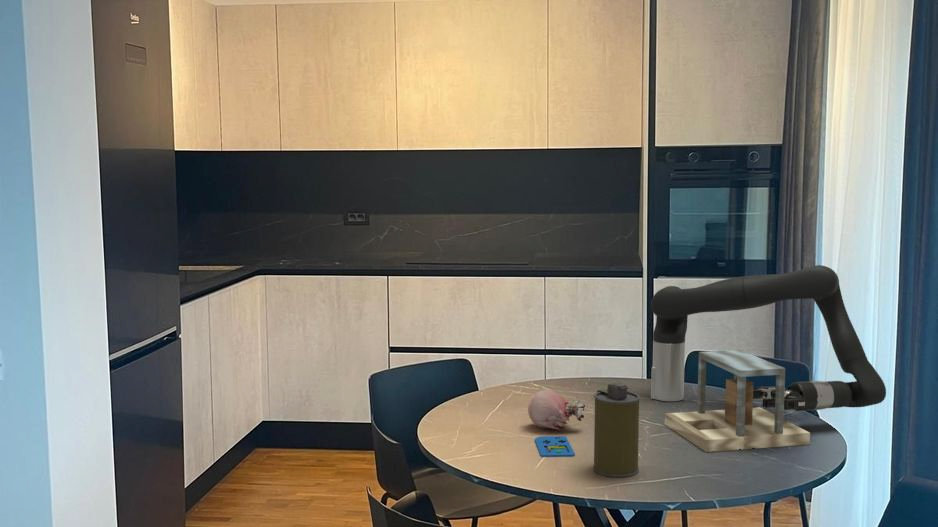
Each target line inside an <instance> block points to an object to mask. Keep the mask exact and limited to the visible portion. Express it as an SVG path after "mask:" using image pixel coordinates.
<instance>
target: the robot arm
mask: <svg viewBox="0 0 938 527" xmlns="http://www.w3.org/2000/svg"><path fill="white" fill-rule="evenodd" d="M808 299H809V300H811V299H812V300H813V301H814V303H815V304H816V305H817V307H818V309H819V311H820V313H821V315H822V317H823V320H824V322H825V325H826V329H827V332H828V337H829V340H830V343H831V345H832V348H833V351H834V353H835V356H836V358H837V361H838V363H839V365H840V368H841V369H842V371H843V372H844V373H845V374H849V375H852V376H853V378H854V379H855V381H849V382H848V381H846V382H845V381H842V380H830V381H829V380H828V381H823V380H822V381H821V380H810V381H809V380H807V381H793V382H792V383H791V384H789V387H788V388H785V393H784V411H788V410H794V411H796V412H803V411H820V410H825V409H838V408H844V407H845V408H865V407H869V406H873V405H874V406H875V405H878V404H881V403H883V402H884V400H885V399H886V397H887V389H886V385H885V382H884V380H883V379H882V376H880V375H879V373H878V371H877V370H876V368H874V366H873V365H872V364H871V362H870V361H869V359H868V357H867V355H866V352H865V350H864V348H863V345H862V343H861V340H860V339H859V336H858V334H857V332H856V330H855V328H854V326H853V324H852V321H851V319H850V315H849V314H848V311H847V308H846V306H845V303H844V299H843V295H842V291H841V285H840V279H839V275H838V274H837V273H836V271H835V270H834V269H832V268H830V267H828V266H825V265H817V264H816V265H813V266H809V267H805V268H802V269H798V270H793V271H789V272H784V273H776V274H775V273H773V274H756V275H755V274H753V275H746V276H744V275H743V276H738V277H731V278H725V279H722V280H719V281H715V282H711V283H708V284H705V285H701V286H697V287H690V288H689V287H688V288H681V287H679V286H675V285H668V286H666V287H663V288H661V289H659V290H658V291H656V292H655V293H654V295H653V297H652V299H651V301H650V309H651V312H653V314H654V315H655V316H656V320H655V321H656V322H655V326H654V330H653V333H652V335H653V336H652V366H651V375H650V376H651V377H650V378H651V379H650V382H651V385H650V386H651V387H650V399H652V400H657V401H662V402H679V401H682V400H684V398H685V397H684V393H685V359H686V358H685V357H686V356H685V355H686V353H685V352H686V334H687V329H688V319H689V318H688V317H689V316H691V315H695V314H701V313H719V312H731V311H742V310H743V311H744V310H747V309H748V310H751V309H755V308H760V307H764V306H768V305H772V304H774V303H778V302H782V301H787V300H788V301H789V300H808ZM775 398H776V385H772V386H771V385H770V386H757V387H756V389H753V400H756V399H757V400H758V399H760V400H762V403H761V404H762V407H763V408H765V409H768V408H775Z"/></svg>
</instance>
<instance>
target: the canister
mask: <svg viewBox="0 0 938 527" xmlns="http://www.w3.org/2000/svg"><path fill="white" fill-rule="evenodd" d="M628 389H629V386H628V385H625V384H623V383H621V382H614V383H609V384H607V389H605V388H604V389H603V388H602V389H598V390H597V391H596V393H594V394H593V398H594V430H593V431H594V432H593V433H594V434H593V436H594V439H593V445H594V446H593V451H594V452H593V466H592V470H593V471H594V473H597V474H599V475H600V476H605V477H609V478H627V477H632V476H635V475H637V474H638V473H639V471H640V467H639V436H640V435H639V432H640V431H639V429H640V428H639V426H640V425H639V423H640V400H641V395H639V394H638V393H635V392H632V391H630V390H629V391H628Z"/></svg>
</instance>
